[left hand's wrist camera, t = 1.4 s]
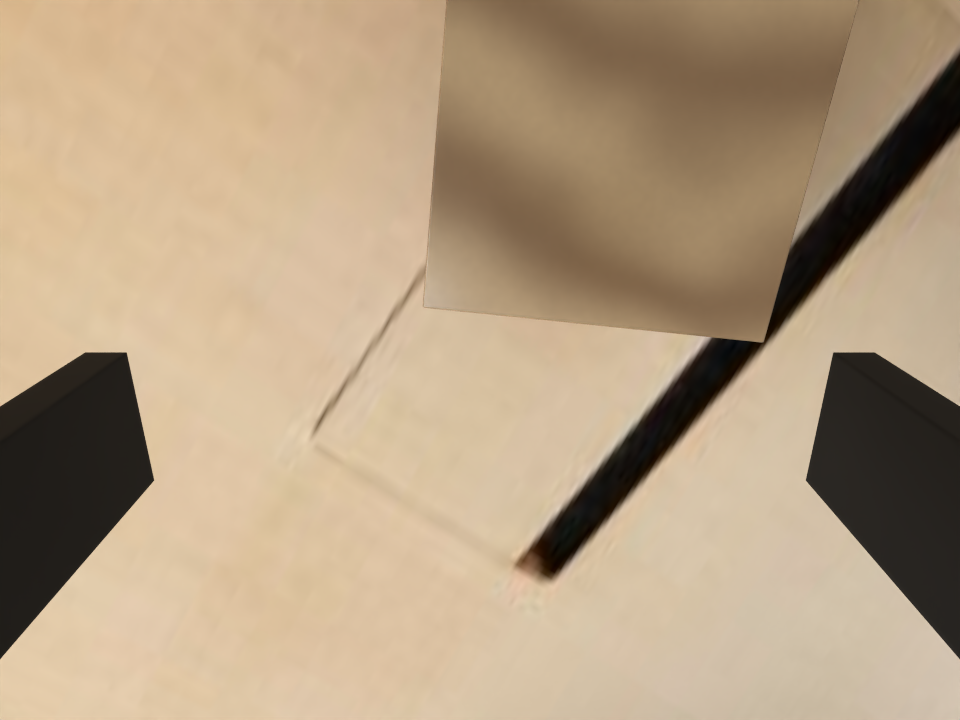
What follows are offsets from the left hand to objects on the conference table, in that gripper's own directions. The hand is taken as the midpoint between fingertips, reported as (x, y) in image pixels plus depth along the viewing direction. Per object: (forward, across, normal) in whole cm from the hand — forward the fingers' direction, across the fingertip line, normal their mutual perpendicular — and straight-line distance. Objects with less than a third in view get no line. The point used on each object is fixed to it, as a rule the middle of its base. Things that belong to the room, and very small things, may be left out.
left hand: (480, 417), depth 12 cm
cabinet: (+19, -5, -7) cm, 21 cm away
